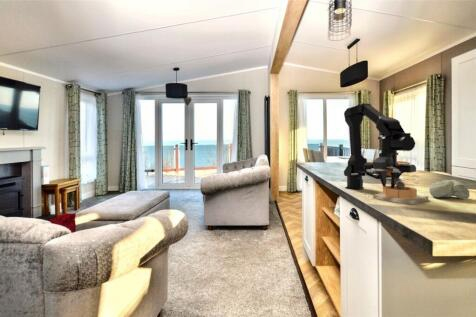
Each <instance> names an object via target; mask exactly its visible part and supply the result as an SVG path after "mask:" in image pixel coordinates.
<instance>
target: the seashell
mask: <svg viewBox="0 0 476 317" xmlns="http://www.w3.org/2000/svg"><path fill="white" fill-rule="evenodd" d="M428 190H429V194H430V195H431V196H432V197H433V198H451V197H456V198H458V199H461V200H468V199H469V198H470V190H469V189H468V187H467V186H466V185H465V184H464V183H462V182H461V181H458V180H455V179H443V180H440V181H437V182H434V183H432V184H431V185H430V186H429V188H428Z"/></svg>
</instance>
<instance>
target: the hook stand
mask: <svg viewBox="0 0 476 317" xmlns="http://www.w3.org/2000/svg"><path fill="white" fill-rule="evenodd" d="M395 186H396V187H397V190H404V187H405V186H406V184H405V183H404V182H402V181H397V182H396V184H395ZM372 197H373V198H372V199H375V200H380V201H386V202H392V203H393V202H394V203H399V204H405V205H410V204H411V206H415V205H417V204H421V203H423V202H427V201H429V196H428V195H421V194H417V197H414V198H394V197H388V196H385V195H383V192H379V193H375V194H373V195H372Z"/></svg>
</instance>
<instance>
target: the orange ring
mask: <svg viewBox="0 0 476 317" xmlns="http://www.w3.org/2000/svg"><path fill="white" fill-rule="evenodd" d="M417 190H418V189H417V188H415V187H413V186H412V187H411V186H406V185H405V187H404V190H397V187H396V185H395V186H394V188H393V189H392V188H391V185H386V186H385V187H383V186H382V193H383V195H385V196H388V197H394V198H414V197H417V195H418V194H417V193H418V192H417Z"/></svg>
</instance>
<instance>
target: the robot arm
mask: <svg viewBox="0 0 476 317" xmlns="http://www.w3.org/2000/svg"><path fill="white" fill-rule="evenodd" d="M343 116H344V121H345V123H346V124H347V126H348V131H349V146H350V148H349V149H350V156H349V158H348V160H347V166H346V168H345V169H344V171H343V175H344V176H345V177H346V183H347V184H346V186H345V187H344V189H350V190H361V189H364V188H365V187H364V179H363V177H365V176H366V174H367V170H372V169H373V172H374V173H376V174H377V175H378V177H379V180H380V182H381V185H382V188H383V187H385V186H387V176H388V170H392V171H391V172H390V175H391V177H390V178H391V180H390V186H391V188H392V189H393V188H394V186H396V184H397V183H398V180H399V179H400V177H401V176H402V174H404V173H406V174H409V173H416V172H417V166H416V165H415V164H412V163H411V164H409V163H404V164H399V162H398V161H397V160H398V156H399V152H400V151H402V152H410V151H412V150H414V148H415V146H416V141H415V139H414V138H413V137H412V136H411V135H412V134H411V132H406V131H405V130H404V128H403V127H402V125H401V121H400V120H399V119H396V118H394V117H390V116H386V115H385V114H383V113H382V112H381V111H379V110H378V109H376V108H375V107H373V106H372V104H371V103H369V102H365V103H362V102H361V103H359V104H357V105H355V106H352V107H351V106H350V107H347V108H346V110H345V111H344V113H343ZM365 116H366V118H367V119H369V120H370V121H371V122H372V123H374V124H375V129H376V130H377V131H378V132H379V133H380V135H379V136H377V139H378V140H381V141H380V145H381V146H380V152H379V154H378V157H376V158H375V159H374V160H373V161H371V162H369V161H368V159H367V158H366V157H364V156H363V154H362V153H363V152H362V137H361V136H362V135H361V134H362V133H361V124H362V123H363V120H364V117H365ZM398 151H399V152H398ZM344 176H343V177H344Z"/></svg>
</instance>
